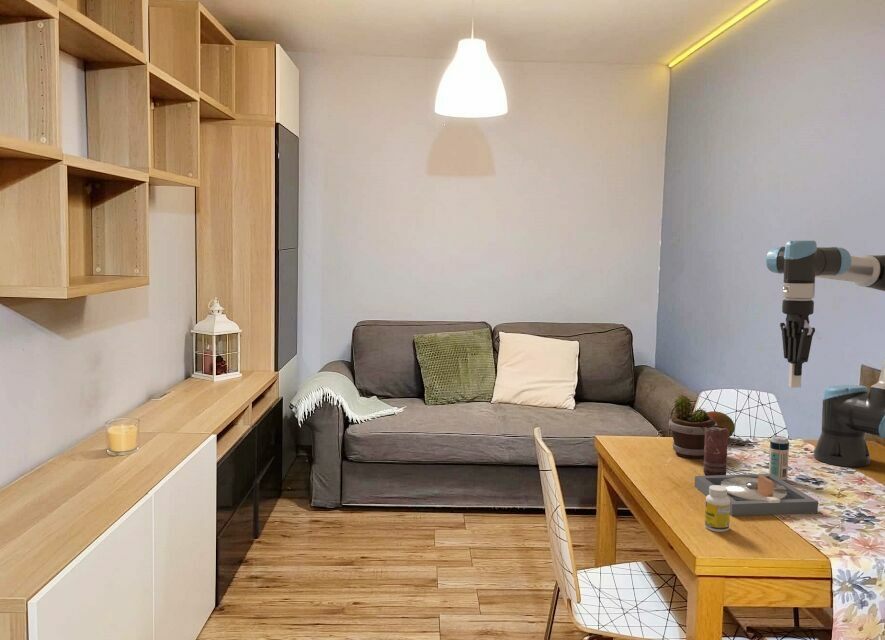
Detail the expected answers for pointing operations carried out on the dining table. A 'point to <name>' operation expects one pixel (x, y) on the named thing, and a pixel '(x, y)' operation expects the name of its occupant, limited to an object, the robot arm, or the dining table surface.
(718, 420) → the fruit
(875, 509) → the dining table surface
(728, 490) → the dial
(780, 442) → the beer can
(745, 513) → the dial plate
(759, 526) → the dining table surface
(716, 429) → the can
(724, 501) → the supplement bottle
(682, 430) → the flowerpot
